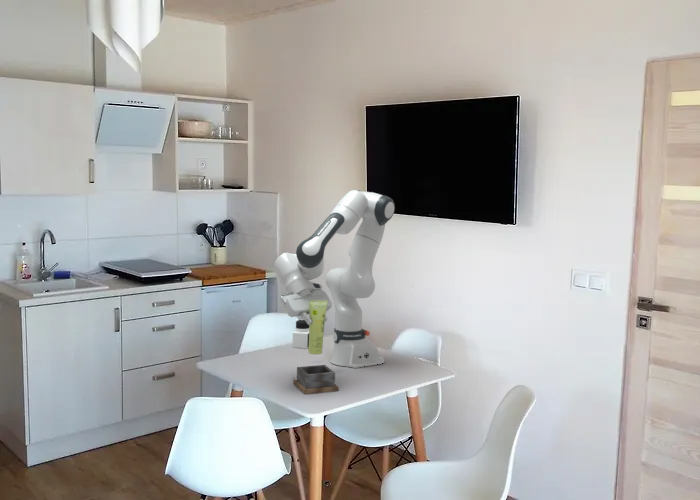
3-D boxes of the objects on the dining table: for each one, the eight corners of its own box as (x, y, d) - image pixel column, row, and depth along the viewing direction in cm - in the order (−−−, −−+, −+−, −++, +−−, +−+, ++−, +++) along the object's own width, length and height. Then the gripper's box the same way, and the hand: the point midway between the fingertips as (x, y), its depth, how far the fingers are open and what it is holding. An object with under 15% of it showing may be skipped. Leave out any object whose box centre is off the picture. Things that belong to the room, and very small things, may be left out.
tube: (318, 355, 244) (322, 301, 243) (305, 353, 245) (309, 300, 244) (324, 353, 249) (327, 300, 248) (311, 351, 251) (314, 298, 250)
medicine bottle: (307, 349, 304) (308, 322, 303) (292, 347, 305) (292, 321, 304) (311, 345, 311) (312, 319, 309) (296, 344, 312) (297, 318, 311)
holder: (325, 380, 258) (326, 363, 257) (338, 390, 246) (338, 373, 245) (293, 383, 253) (293, 366, 252) (304, 394, 241) (304, 376, 240)
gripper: (283, 289, 243) (301, 320, 237) (324, 284, 258) (341, 313, 252) (274, 299, 246) (292, 331, 240) (315, 293, 261) (332, 323, 255)
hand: (318, 322), depth 246 cm, fingers closed on tube, 6 cm apart
